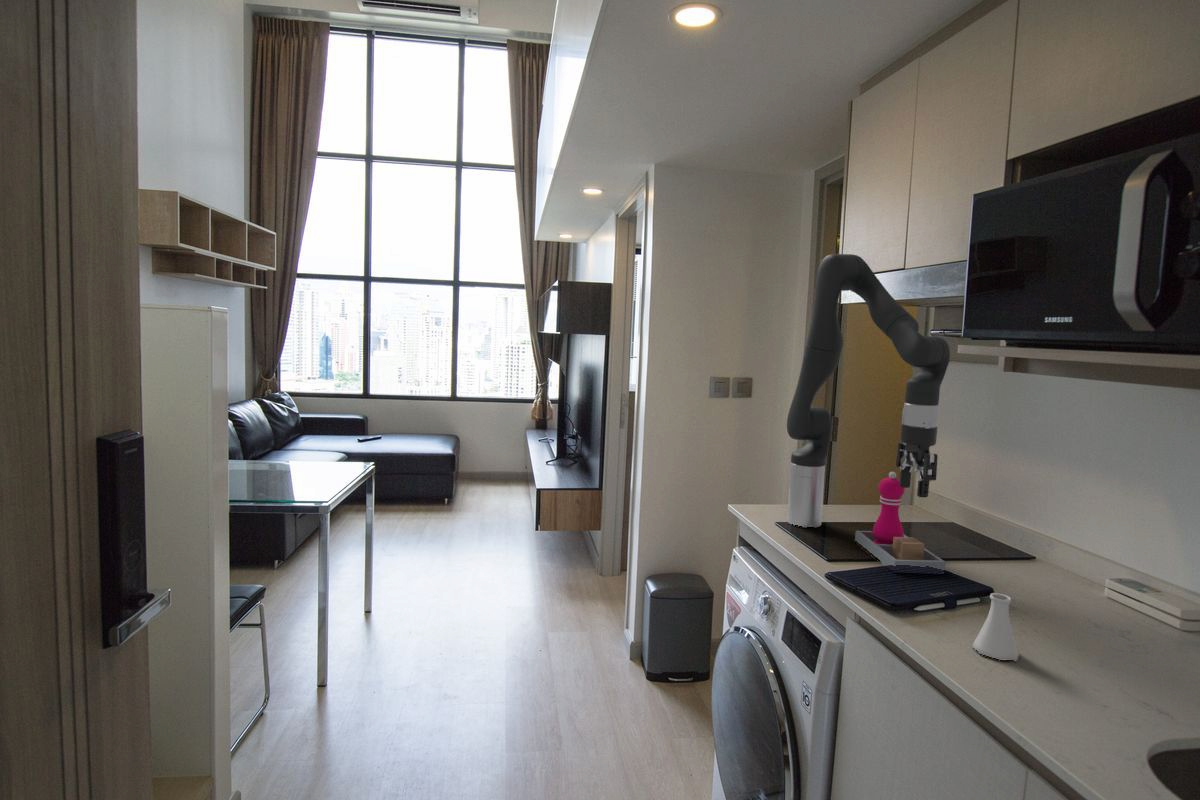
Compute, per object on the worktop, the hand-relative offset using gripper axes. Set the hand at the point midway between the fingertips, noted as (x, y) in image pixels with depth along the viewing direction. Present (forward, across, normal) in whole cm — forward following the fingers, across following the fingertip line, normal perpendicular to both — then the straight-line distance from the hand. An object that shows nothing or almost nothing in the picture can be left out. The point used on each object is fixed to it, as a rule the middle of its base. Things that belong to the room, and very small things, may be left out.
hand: (913, 492), depth 156 cm
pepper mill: (+18, -10, 0) cm, 21 cm away
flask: (+17, +43, -5) cm, 47 cm away
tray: (+18, -5, 0) cm, 18 cm away
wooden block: (+18, 0, 0) cm, 18 cm away
